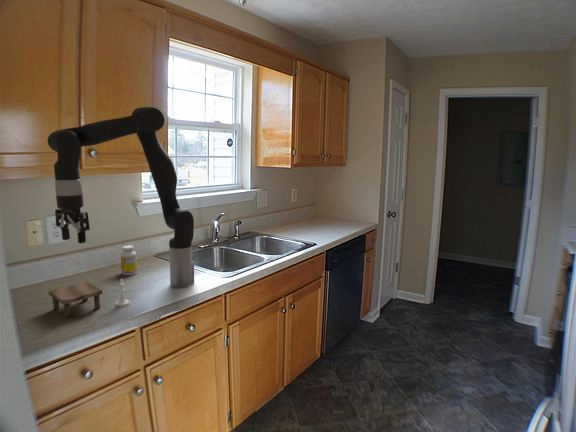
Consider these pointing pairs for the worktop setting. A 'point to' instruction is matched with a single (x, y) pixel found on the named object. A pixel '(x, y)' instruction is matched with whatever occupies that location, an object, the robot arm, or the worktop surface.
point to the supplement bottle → (128, 261)
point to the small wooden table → (75, 296)
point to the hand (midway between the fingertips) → (74, 241)
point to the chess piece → (122, 296)
